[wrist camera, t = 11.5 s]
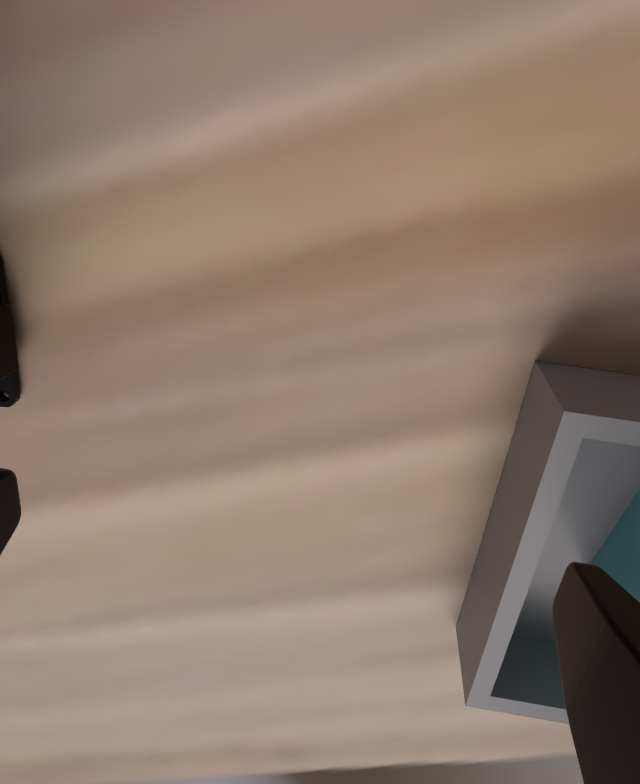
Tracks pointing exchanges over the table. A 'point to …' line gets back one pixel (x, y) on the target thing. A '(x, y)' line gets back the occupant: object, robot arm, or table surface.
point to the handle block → (623, 550)
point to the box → (546, 532)
